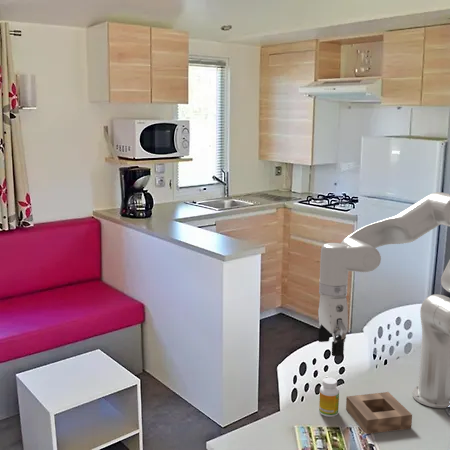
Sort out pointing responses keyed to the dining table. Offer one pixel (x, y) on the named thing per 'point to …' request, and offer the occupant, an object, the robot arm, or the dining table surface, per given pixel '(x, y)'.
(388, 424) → the socket block
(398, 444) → the dining table surface
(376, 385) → the dining table surface
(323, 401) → the supplement bottle
